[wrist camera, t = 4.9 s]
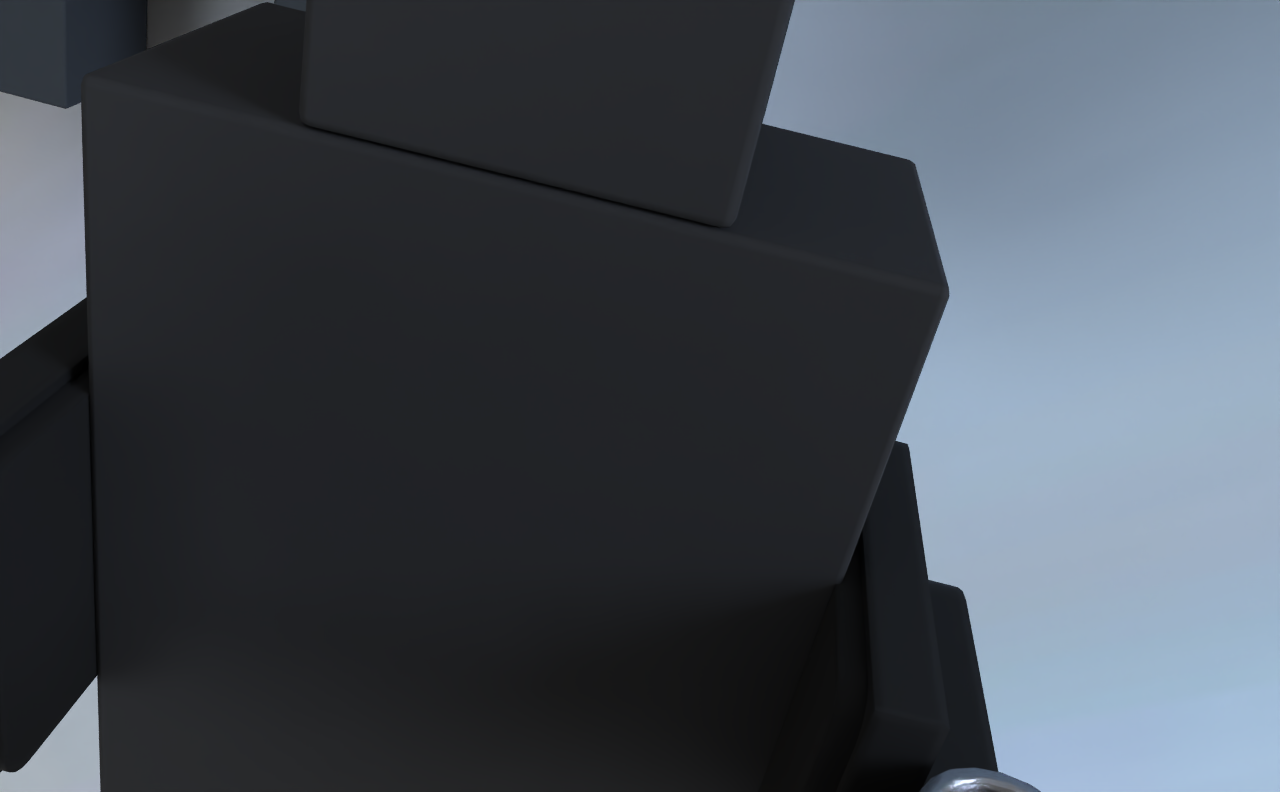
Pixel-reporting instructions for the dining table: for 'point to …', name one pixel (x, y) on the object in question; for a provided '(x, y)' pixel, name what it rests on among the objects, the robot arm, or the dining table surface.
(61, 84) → the pad
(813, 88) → the dining table surface
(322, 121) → the pad
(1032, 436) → the dining table surface
